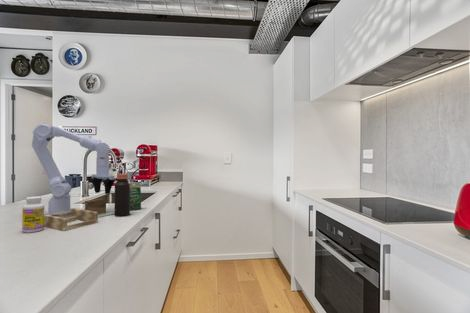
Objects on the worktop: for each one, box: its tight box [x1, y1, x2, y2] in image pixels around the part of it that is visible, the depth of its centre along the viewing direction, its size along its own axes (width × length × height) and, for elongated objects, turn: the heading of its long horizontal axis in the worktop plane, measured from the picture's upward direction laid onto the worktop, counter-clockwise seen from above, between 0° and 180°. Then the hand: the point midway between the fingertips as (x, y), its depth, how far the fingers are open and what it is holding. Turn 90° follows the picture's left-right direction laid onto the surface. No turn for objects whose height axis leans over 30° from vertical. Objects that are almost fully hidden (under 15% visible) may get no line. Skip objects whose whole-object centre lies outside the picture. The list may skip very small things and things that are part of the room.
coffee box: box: [130, 184, 142, 211], centre depth 137 cm, size 8×3×13 cm, turn 122°
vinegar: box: [114, 173, 131, 217], centre depth 125 cm, size 7×7×20 cm
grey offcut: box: [51, 211, 72, 218], centre depth 111 cm, size 4×7×2 cm, turn 175°
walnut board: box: [84, 197, 107, 214], centre depth 125 cm, size 3×9×7 cm, turn 153°
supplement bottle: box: [21, 195, 45, 234], centre depth 99 cm, size 7×7×13 cm
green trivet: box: [98, 211, 115, 219], centre depth 125 cm, size 12×12×1 cm
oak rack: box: [44, 207, 99, 232], centre depth 109 cm, size 18×14×4 cm
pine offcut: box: [66, 216, 77, 224], centre depth 111 cm, size 5×9×2 cm, turn 159°
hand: (102, 193), depth 130 cm, fingers open, 7 cm apart
